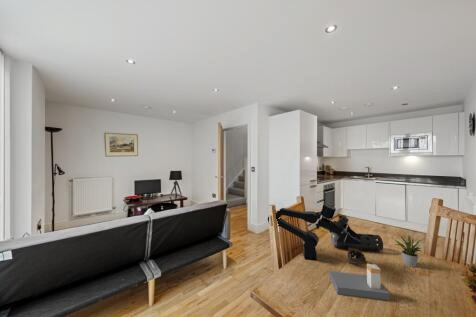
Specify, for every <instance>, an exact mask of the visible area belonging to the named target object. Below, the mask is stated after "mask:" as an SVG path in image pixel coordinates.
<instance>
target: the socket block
mask: <svg viewBox="0 0 476 317" xmlns="http://www.w3.org/2000/svg"><path fill="white" fill-rule="evenodd" d="M328 276H329V280H330V281H331V284H332V286H333V287H334V290H335V291H336V294H337V295H343V296H350V297H357V298H366V299H373V300H383V301H390V292H389V291H388V290H387V289H386V288H385V287H384V285H383V284H382V283H381V282H380V289H372V288H370V287H369V285H368V284H367V274H361V273H353V272H342V271H332V270H329V271H328Z"/></svg>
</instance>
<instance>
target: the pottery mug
mask: <svg viewBox="0 0 476 317" xmlns="http://www.w3.org/2000/svg"><path fill="white" fill-rule="evenodd" d="M347 250H348V252H347V262H348V263H349V264H350V263H351V264H361V263H363V264H367V260H366V259H367V258H366V256H365V254H364V253H363V252H361V251H360V249H358V248H349V249H347Z"/></svg>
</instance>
